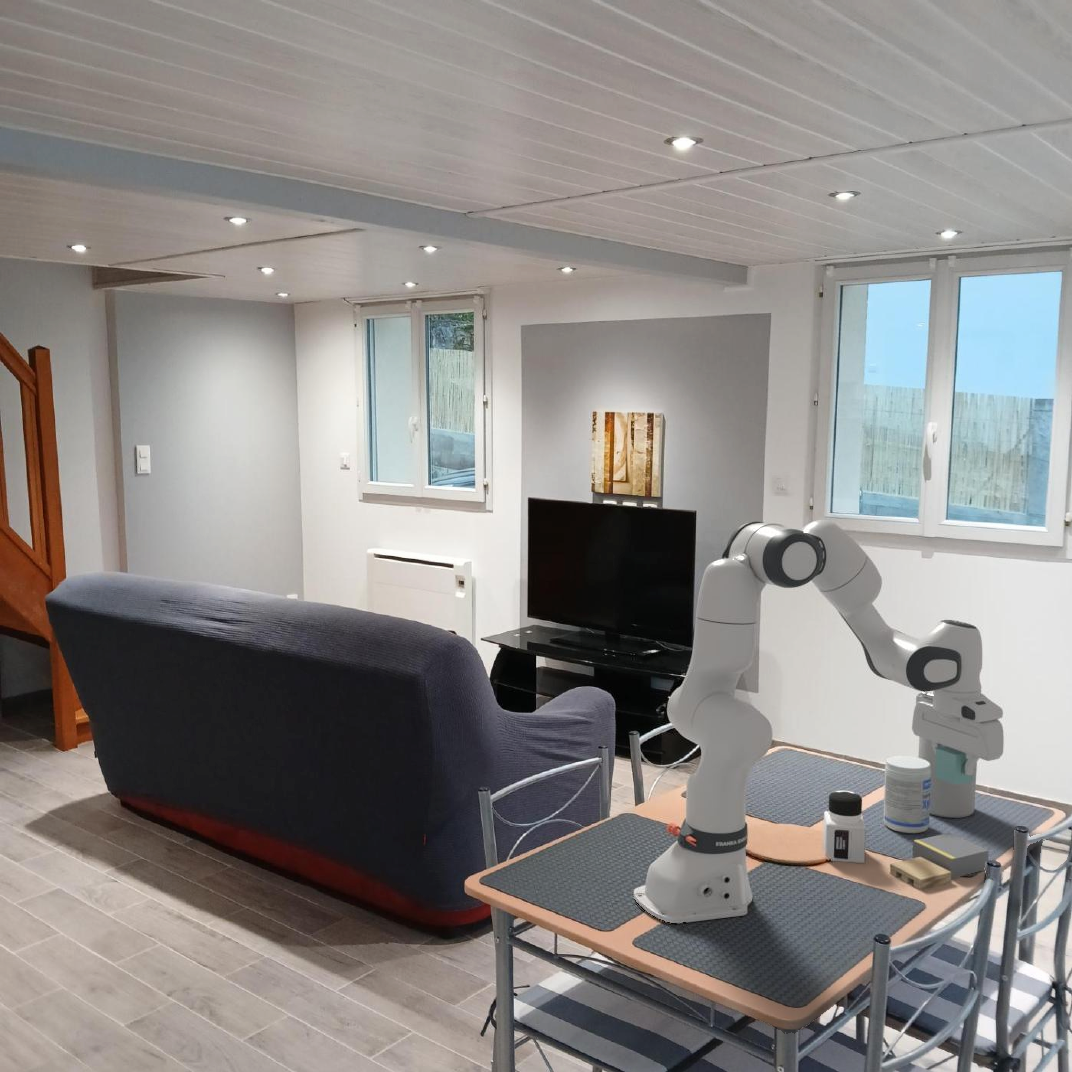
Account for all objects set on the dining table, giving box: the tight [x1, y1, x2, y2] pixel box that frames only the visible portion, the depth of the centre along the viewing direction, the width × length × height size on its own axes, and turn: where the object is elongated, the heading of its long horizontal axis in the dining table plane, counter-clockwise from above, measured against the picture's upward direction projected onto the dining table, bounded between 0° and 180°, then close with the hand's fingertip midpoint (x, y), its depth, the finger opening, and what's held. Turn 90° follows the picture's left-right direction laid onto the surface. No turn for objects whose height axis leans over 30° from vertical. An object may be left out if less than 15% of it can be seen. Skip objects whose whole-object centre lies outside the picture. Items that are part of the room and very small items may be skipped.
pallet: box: [889, 857, 952, 890], centre depth 208 cm, size 8×8×2 cm
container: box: [822, 790, 867, 864], centre depth 218 cm, size 8×8×13 cm
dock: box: [912, 832, 989, 880], centre depth 214 cm, size 10×10×4 cm
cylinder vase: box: [917, 736, 978, 819], centre depth 243 cm, size 12×12×25 cm
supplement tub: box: [883, 755, 931, 834], centre depth 233 cm, size 10×10×15 cm
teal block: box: [935, 746, 974, 785], centre depth 211 cm, size 5×5×6 cm
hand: (954, 769), depth 211 cm, fingers closed on teal block, 5 cm apart
